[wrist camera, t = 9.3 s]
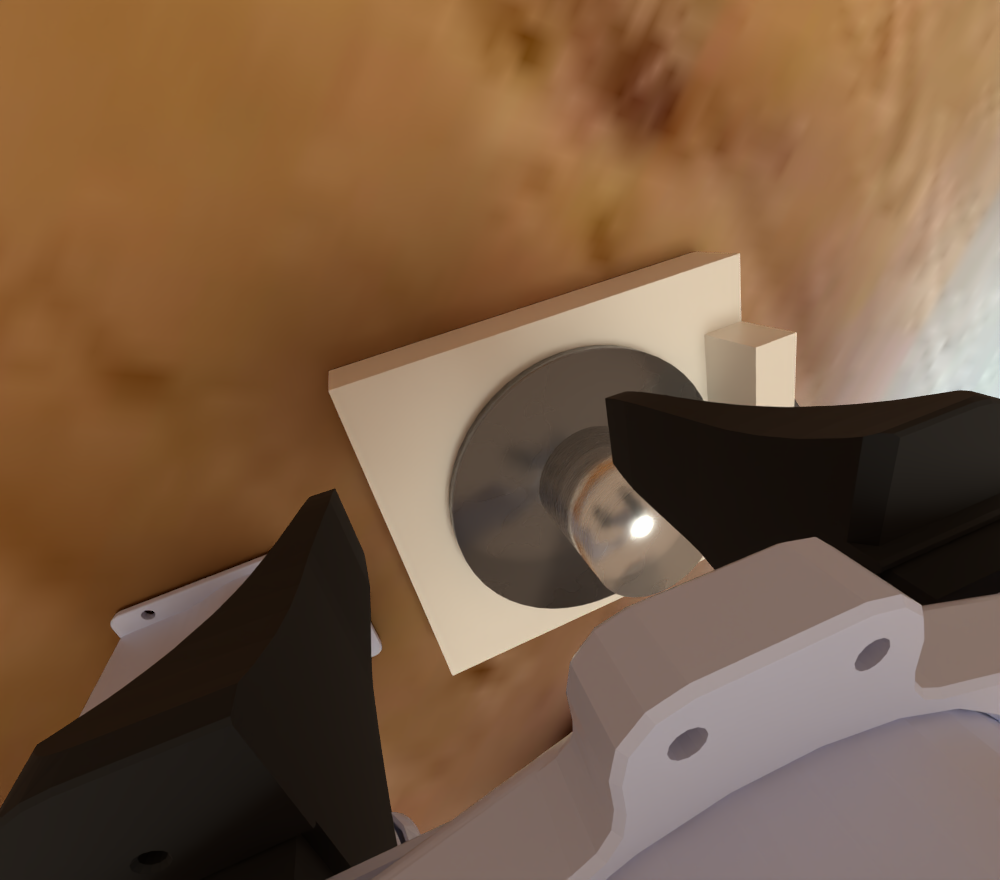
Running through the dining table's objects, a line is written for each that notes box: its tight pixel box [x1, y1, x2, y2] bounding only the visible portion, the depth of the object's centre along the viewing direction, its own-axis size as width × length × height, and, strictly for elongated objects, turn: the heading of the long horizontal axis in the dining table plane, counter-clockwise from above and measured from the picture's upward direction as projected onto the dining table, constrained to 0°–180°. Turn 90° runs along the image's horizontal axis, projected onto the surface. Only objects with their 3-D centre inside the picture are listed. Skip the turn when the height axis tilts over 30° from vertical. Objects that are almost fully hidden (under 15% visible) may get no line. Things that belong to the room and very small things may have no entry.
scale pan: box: [449, 345, 703, 609], centre depth 22 cm, size 13×13×1 cm
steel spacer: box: [539, 426, 703, 597], centre depth 19 cm, size 5×5×5 cm
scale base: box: [328, 252, 799, 675], centre depth 23 cm, size 18×16×6 cm
